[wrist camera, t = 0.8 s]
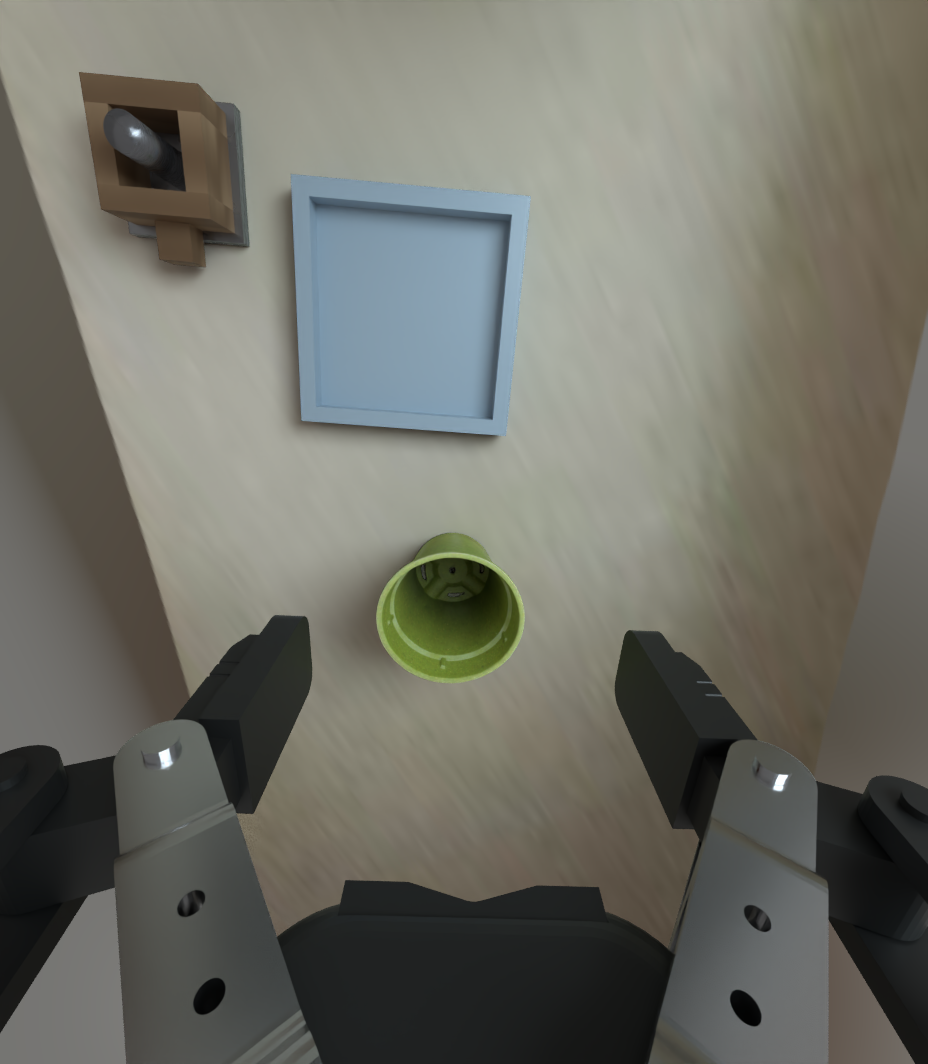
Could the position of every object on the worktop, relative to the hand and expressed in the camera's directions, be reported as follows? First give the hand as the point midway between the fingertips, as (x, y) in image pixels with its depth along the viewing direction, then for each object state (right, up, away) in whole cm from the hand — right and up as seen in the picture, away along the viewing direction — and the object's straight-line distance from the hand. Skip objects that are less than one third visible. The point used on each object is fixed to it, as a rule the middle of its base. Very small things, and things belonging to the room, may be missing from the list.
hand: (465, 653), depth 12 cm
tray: (-4, +17, +20) cm, 26 cm away
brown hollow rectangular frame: (-17, +25, +16) cm, 34 cm away
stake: (-17, +25, +17) cm, 35 cm away
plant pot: (-1, 0, +26) cm, 26 cm away
